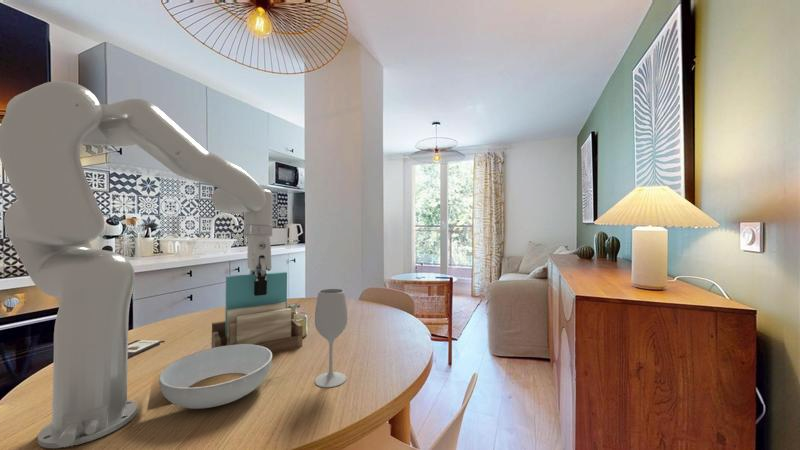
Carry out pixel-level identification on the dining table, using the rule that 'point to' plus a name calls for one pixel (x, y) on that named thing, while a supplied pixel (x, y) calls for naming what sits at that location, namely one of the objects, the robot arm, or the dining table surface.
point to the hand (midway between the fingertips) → (257, 292)
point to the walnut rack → (273, 346)
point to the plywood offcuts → (258, 324)
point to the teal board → (243, 291)
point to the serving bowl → (211, 364)
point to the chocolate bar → (141, 346)
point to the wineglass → (330, 329)
